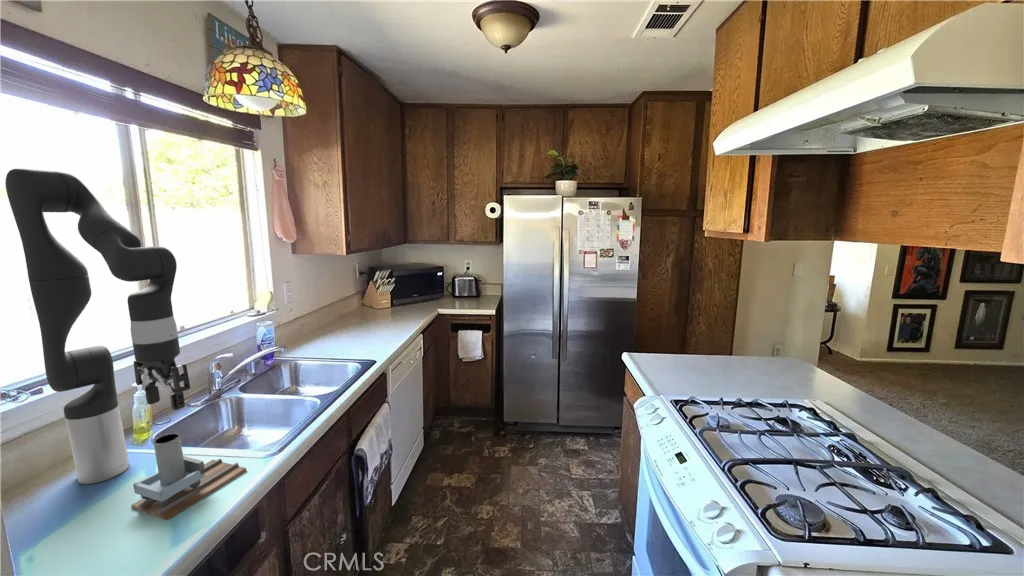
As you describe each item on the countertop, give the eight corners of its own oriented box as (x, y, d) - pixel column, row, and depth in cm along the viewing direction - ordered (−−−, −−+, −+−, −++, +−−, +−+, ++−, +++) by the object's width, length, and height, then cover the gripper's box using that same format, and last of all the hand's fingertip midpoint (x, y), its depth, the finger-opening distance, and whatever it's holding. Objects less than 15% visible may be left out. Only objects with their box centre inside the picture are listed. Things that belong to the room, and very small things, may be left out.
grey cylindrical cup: (171, 486, 89) (164, 444, 87) (155, 484, 89) (148, 442, 88) (191, 474, 93) (184, 434, 91) (175, 471, 94) (169, 432, 92)
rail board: (131, 507, 89) (130, 501, 88) (213, 462, 106) (212, 456, 105) (167, 520, 85) (166, 513, 85) (246, 470, 102) (245, 465, 102)
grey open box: (136, 501, 88) (131, 477, 87) (180, 476, 97) (177, 454, 96) (163, 510, 85) (159, 485, 84) (206, 483, 94) (203, 461, 93)
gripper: (196, 335, 88) (205, 403, 91) (154, 330, 93) (164, 394, 95) (157, 345, 81) (168, 418, 84) (113, 338, 86) (125, 408, 88)
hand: (166, 405), depth 90 cm, fingers open, 8 cm apart
